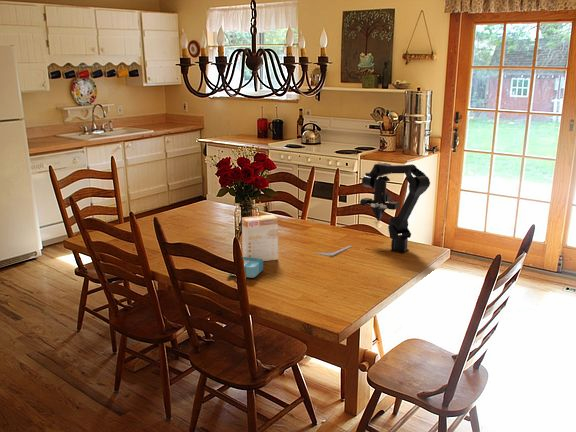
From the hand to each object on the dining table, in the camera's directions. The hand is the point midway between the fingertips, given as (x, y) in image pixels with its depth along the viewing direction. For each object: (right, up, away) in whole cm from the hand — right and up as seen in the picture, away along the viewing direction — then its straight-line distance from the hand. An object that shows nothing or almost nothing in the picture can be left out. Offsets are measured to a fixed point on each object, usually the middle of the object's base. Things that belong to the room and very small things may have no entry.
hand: (378, 220), depth 260 cm
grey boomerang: (-25, -14, -5) cm, 29 cm away
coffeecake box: (-57, -17, -20) cm, 63 cm away
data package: (-56, -19, -39) cm, 71 cm away
